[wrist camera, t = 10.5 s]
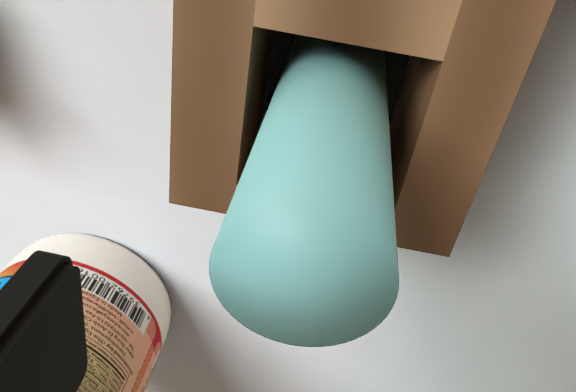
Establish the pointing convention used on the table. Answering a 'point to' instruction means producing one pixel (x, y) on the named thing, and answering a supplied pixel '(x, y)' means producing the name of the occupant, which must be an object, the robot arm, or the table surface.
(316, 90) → the peg
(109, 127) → the table surface
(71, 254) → the fruit juice
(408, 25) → the block
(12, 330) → the robot arm
